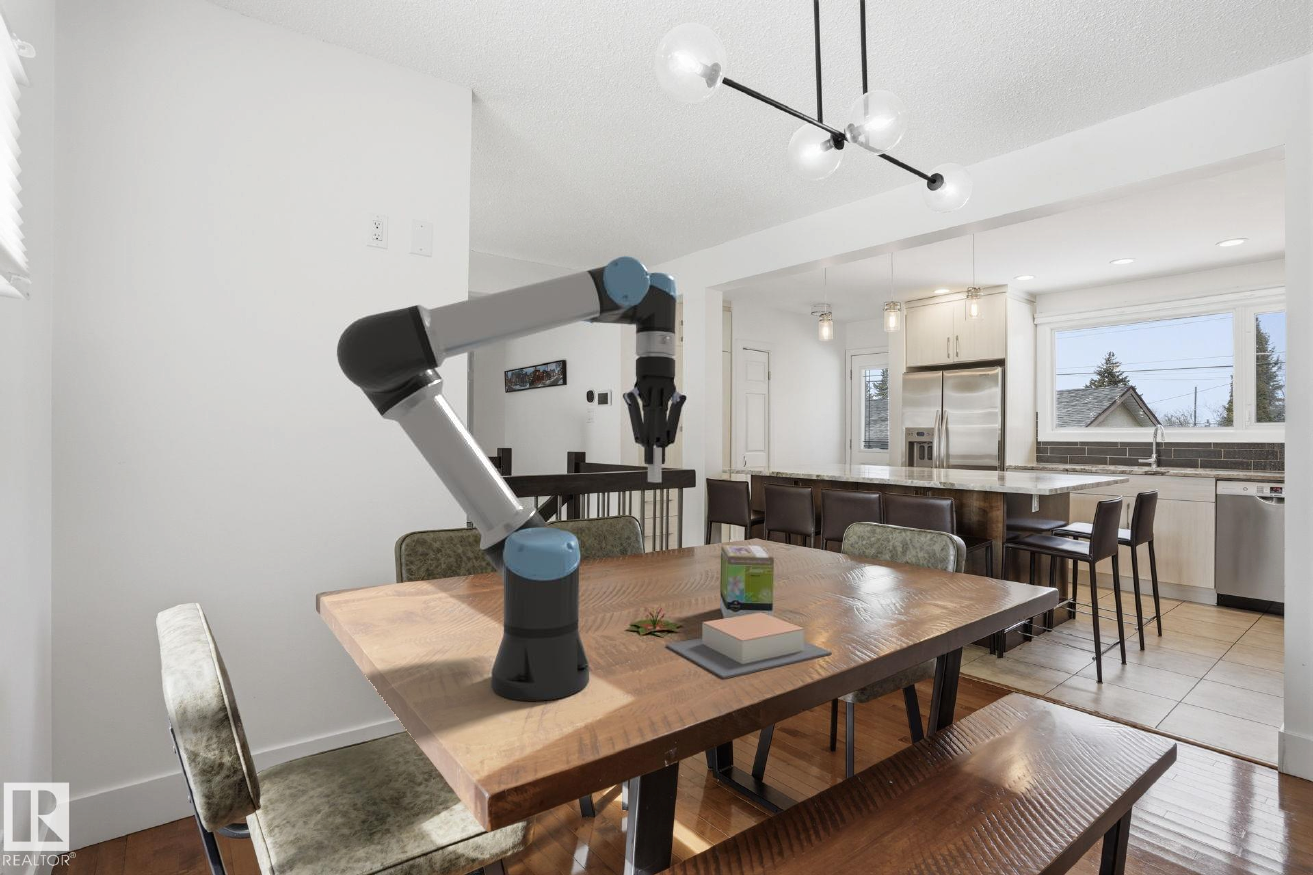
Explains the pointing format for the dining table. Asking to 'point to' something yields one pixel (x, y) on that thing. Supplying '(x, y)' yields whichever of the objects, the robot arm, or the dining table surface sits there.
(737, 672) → the mat
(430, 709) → the dining table surface
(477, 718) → the dining table surface
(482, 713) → the dining table surface
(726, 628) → the cream rectangular block
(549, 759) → the dining table surface
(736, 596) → the tea box
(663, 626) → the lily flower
